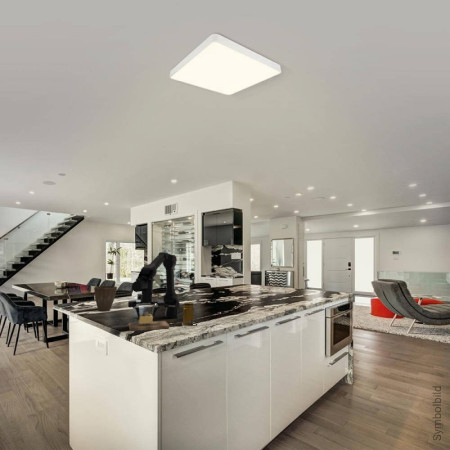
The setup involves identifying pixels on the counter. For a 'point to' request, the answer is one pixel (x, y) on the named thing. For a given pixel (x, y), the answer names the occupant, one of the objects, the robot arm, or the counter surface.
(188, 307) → the condiment
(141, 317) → the open wall cube
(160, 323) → the board
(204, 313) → the counter surface
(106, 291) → the plant pot
